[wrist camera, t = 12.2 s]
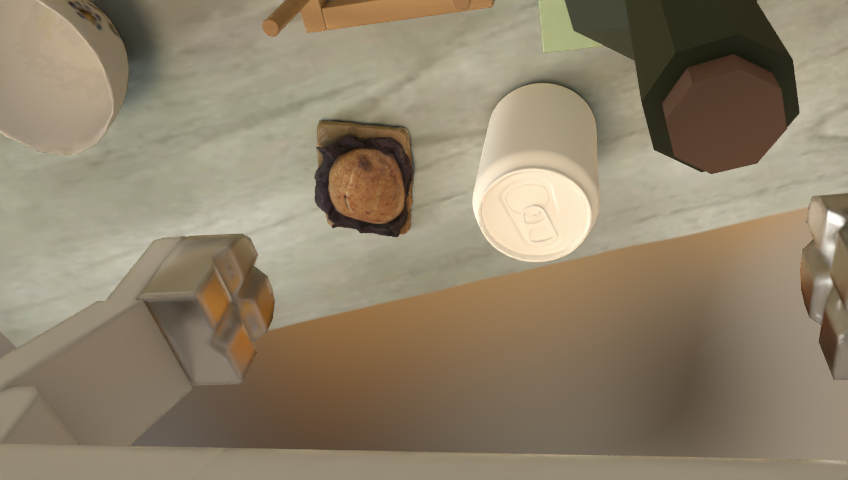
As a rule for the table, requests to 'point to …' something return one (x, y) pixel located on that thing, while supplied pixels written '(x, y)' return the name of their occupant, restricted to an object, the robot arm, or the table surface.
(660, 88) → the wine bottle
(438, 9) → the dish rack
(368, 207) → the bread roll
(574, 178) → the beverage can
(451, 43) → the table surface
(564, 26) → the green low rectangular block
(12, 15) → the teacup
